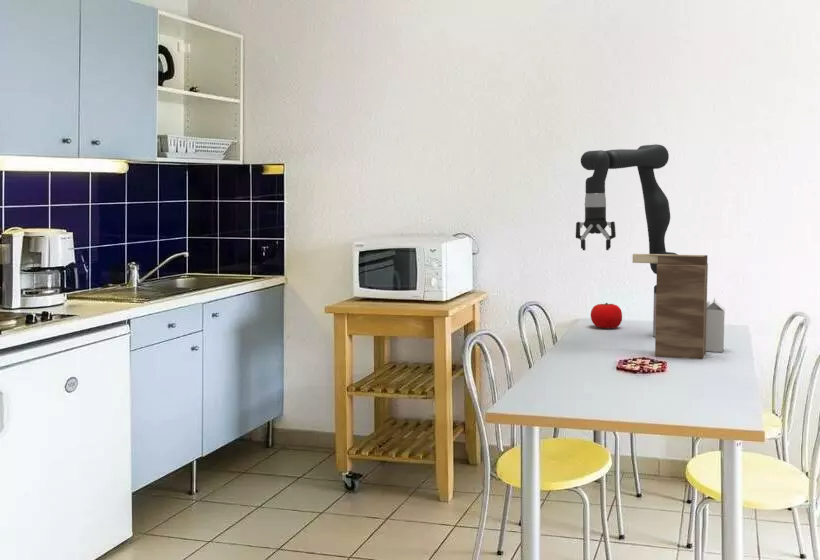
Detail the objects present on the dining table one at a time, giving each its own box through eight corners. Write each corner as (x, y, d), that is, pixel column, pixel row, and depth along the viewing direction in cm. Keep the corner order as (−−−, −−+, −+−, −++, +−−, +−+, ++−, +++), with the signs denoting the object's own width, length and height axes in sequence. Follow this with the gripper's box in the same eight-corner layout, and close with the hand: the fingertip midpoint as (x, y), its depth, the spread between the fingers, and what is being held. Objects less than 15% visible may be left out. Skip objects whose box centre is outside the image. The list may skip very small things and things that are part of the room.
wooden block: (633, 262, 353) (633, 253, 353) (703, 263, 345) (703, 255, 344) (632, 262, 351) (632, 254, 350) (703, 264, 342) (703, 255, 342)
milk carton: (723, 349, 360) (725, 297, 358) (723, 352, 353) (724, 299, 351) (703, 348, 362) (704, 296, 360) (702, 351, 355) (703, 298, 353)
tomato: (625, 330, 406) (625, 305, 405) (593, 330, 406) (593, 305, 405) (618, 325, 420) (618, 300, 419) (587, 325, 420) (588, 301, 419)
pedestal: (659, 350, 357) (661, 253, 354) (705, 353, 352) (708, 254, 348) (655, 356, 346) (657, 256, 343) (702, 359, 341) (705, 257, 337)
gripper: (616, 205, 362) (616, 249, 364) (577, 205, 367) (578, 249, 369) (613, 205, 355) (613, 251, 357) (574, 206, 360) (574, 250, 362)
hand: (595, 250), depth 363 cm, fingers open, 8 cm apart
